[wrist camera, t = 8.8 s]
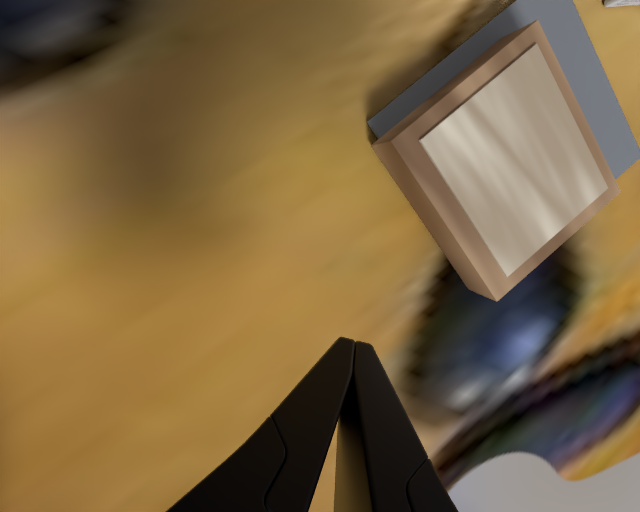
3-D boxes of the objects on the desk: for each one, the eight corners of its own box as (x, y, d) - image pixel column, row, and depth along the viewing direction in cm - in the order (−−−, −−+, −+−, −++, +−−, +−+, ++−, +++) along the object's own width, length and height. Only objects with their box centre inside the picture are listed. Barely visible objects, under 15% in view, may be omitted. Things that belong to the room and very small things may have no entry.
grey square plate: (481, 293, 24) (484, 294, 24) (366, 122, 20) (368, 121, 20) (637, 156, 25) (642, 155, 25) (553, -31, 21) (557, -34, 21)
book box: (499, 302, 21) (623, 192, 21) (392, 140, 18) (540, 18, 18) (468, 289, 23) (580, 190, 24) (370, 145, 20) (501, 37, 21)
